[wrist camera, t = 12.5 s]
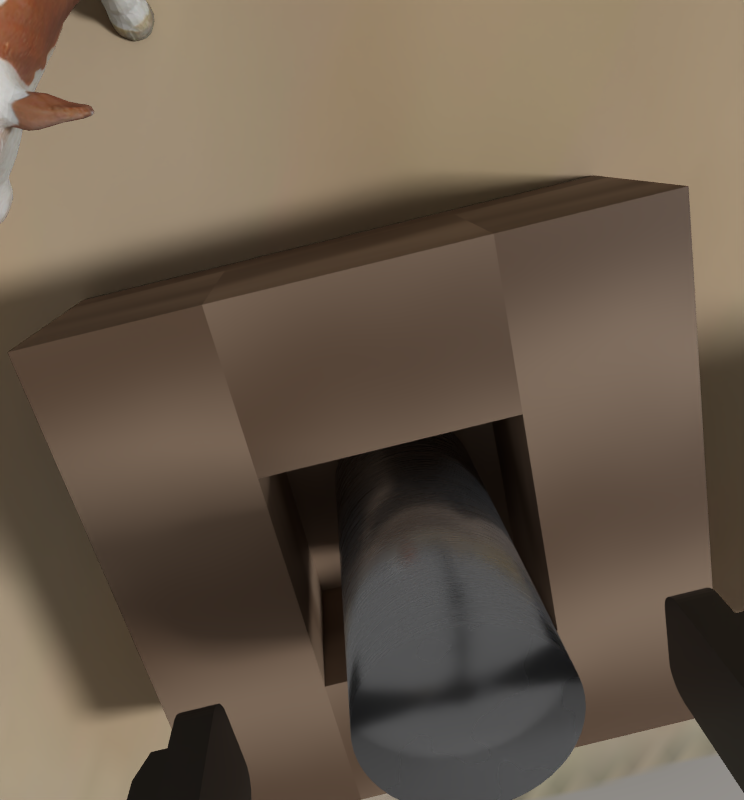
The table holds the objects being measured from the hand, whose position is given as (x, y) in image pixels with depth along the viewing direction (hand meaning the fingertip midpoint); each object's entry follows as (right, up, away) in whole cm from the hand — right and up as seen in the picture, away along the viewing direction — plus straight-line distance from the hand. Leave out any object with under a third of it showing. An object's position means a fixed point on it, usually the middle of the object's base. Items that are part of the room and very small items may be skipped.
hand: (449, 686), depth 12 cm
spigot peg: (0, +3, +8) cm, 8 cm away
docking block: (-1, +3, +9) cm, 9 cm away
